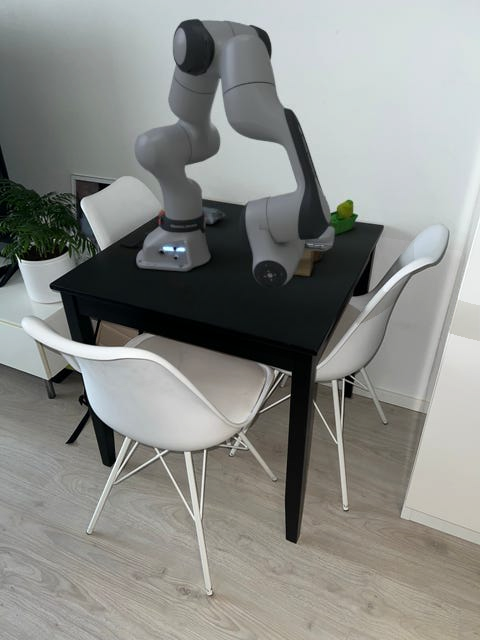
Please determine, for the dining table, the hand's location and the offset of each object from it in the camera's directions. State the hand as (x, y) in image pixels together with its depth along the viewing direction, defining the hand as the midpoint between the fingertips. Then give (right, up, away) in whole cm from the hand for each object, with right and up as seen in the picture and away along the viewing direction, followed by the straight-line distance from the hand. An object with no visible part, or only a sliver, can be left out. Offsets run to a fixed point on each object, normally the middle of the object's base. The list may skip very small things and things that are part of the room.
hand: (297, 222), depth 127 cm
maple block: (+4, -10, +20) cm, 23 cm away
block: (+7, -5, +29) cm, 30 cm away
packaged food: (-27, +10, +53) cm, 61 cm away
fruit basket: (+19, +6, +46) cm, 50 cm away
